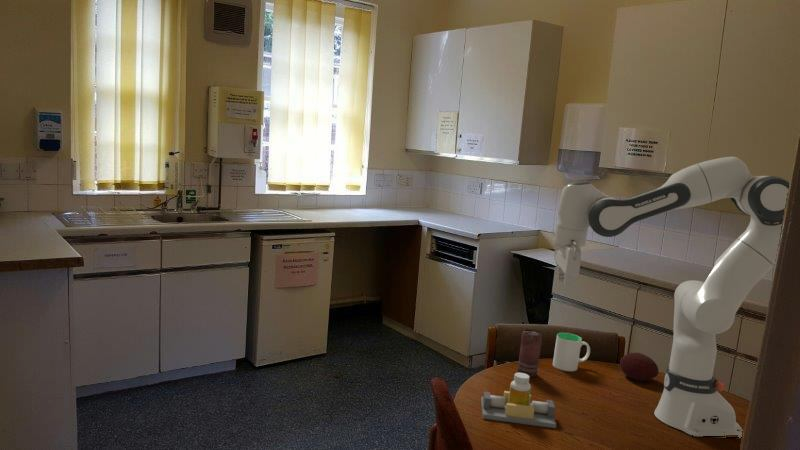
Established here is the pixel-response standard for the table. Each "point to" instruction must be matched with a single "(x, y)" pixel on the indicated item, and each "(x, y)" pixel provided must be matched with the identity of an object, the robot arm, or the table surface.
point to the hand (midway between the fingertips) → (563, 284)
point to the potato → (638, 366)
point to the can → (529, 352)
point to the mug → (568, 351)
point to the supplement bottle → (520, 389)
